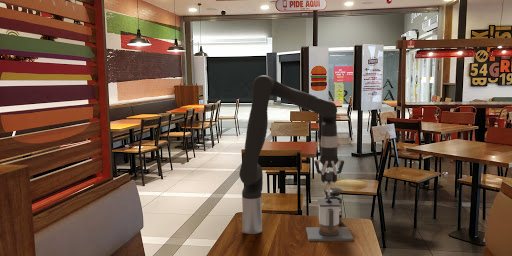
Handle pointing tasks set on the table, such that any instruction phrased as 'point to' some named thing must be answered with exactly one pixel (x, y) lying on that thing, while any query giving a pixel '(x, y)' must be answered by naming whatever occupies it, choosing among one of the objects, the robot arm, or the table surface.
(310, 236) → the slate board
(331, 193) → the french press
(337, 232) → the carafe
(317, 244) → the table surface
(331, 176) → the plunger
